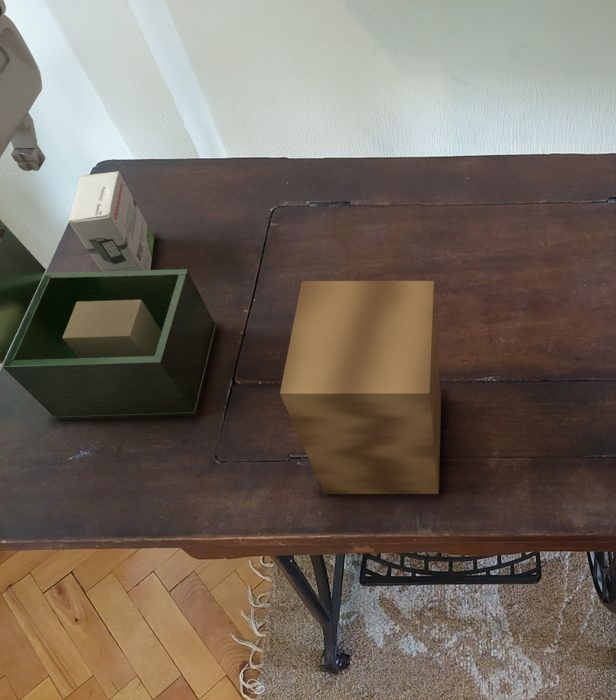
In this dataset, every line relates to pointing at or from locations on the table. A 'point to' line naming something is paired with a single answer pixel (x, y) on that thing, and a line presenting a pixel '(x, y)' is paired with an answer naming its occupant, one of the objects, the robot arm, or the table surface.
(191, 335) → the bin
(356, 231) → the table surface
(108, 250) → the ink box
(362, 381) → the stand
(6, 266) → the lid
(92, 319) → the carton
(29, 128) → the robot arm
